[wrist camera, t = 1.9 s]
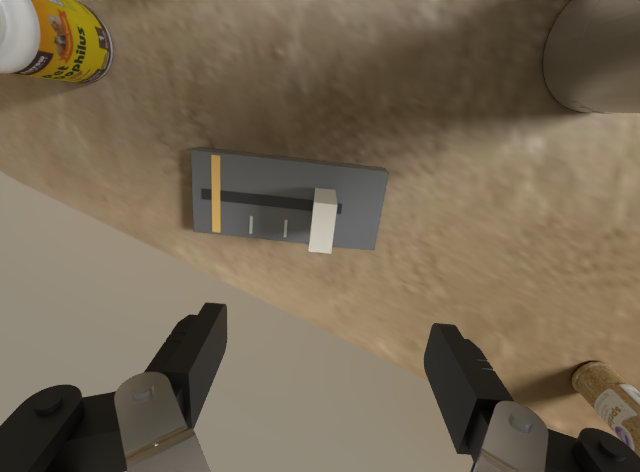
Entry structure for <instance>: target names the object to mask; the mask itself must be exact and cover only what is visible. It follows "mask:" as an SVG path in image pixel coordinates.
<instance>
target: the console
mask: <svg viewBox="0 0 640 472" xmlns="http://www.w3.org/2000/svg"><path fill="white" fill-rule="evenodd" d="M191 167H192V197H193V227H194V232H203V233H212V234H222V235H232V236H241V237H251V238H260V239H270V240H279V241H289V242H298V243H308V244H309V243H310V234H311V224H312V215H313V205H314V196H315V188H322V189H331V190H335V191H336V198H337V213H336V220H335V228H334V235H333V243H332V246H337V247H346V248H356V249H365V250H374V249H375V244H376V239H377V233H378V228H379V222H380V217H381V211H382V206H383V201H384V195H385V190H386V184H387V179H388V174H389V172H388V171H387V170H386V169H385V168H380V167H371V166H363V165H354V164H345V163H336V162H327V161H318V160H309V159H300V158H291V157H282V156H274V155H265V154H256V153H247V152H238V151H229V150H220V149H211V148H202V147H199V148H196V149H192V150H191Z"/></svg>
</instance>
